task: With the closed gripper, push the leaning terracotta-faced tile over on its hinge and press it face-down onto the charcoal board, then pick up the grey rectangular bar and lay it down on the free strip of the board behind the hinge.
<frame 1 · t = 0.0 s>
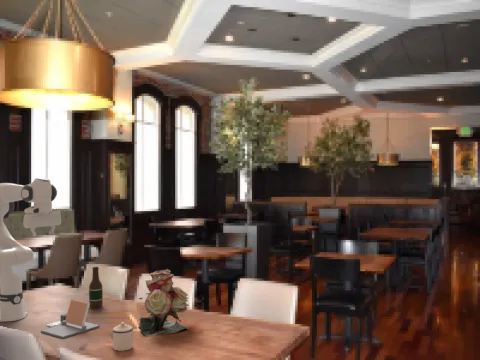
hand: (43, 235, 259), 48 cm above the table, fingers open, 8 cm apart
teacup with lid: (120, 347, 227), on the table
tile: (77, 312, 258), point 8 cm above the table, hinge at 70.0°
board: (70, 329, 255), on the table
rose bouquet: (164, 328, 257), on the table
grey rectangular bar: (62, 323, 267), on the table
beer bottle: (95, 307, 300), on the table
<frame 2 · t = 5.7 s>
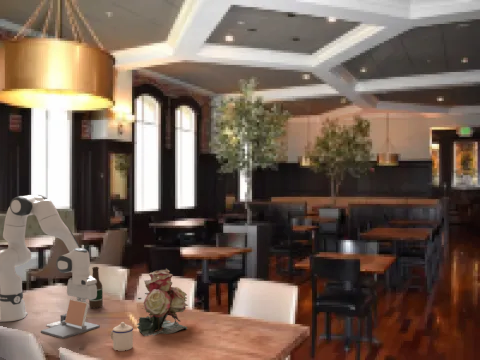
hand: (81, 305, 260), 11 cm above the table, fingers closed, pressing on tile
tile: (76, 312, 258), point 8 cm above the table, hinge at 73.5°, touching gripper
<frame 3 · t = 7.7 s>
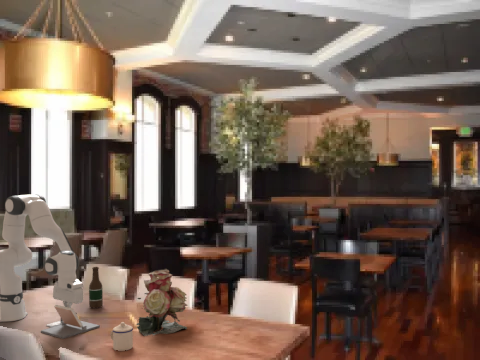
hand: (67, 309, 253), 11 cm above the table, fingers closed, pressing on tile
tile: (68, 316, 253), point 7 cm above the table, hinge at 120.6°, touching gripper
everything else where it was.
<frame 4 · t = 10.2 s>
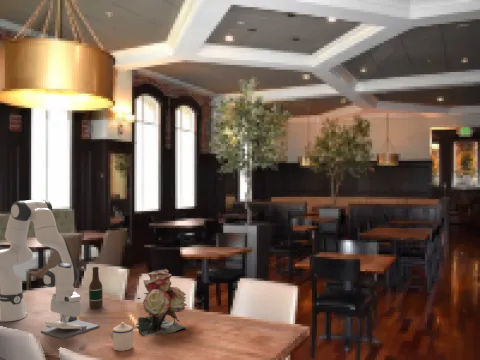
hand: (65, 322, 252), 4 cm above the table, fingers closed
tile: (63, 325, 251), point 3 cm above the table, hinge at 165.8°
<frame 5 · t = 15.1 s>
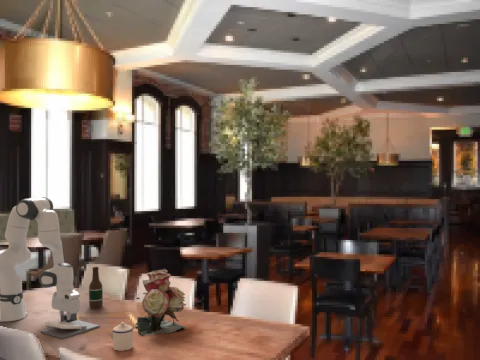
hand: (65, 319, 268), 2 cm above the table, fingers closed on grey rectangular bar, 3 cm apart
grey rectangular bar: (62, 323, 267), on the table, touching gripper
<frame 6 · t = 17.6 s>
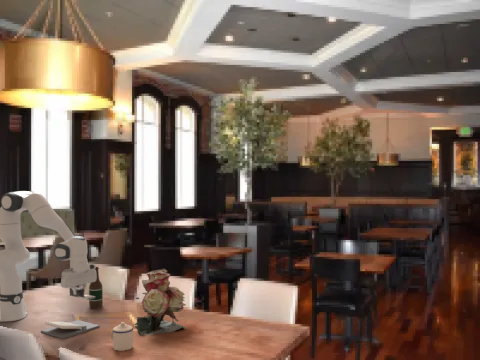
hand: (79, 293, 261), 17 cm above the table, fingers closed on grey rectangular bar, 3 cm apart
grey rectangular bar: (81, 296, 260), point 15 cm above the table, touching gripper
when the fingers open (4 cm above the table, at t = 20.3 s): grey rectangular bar stays where it is, resting on board.
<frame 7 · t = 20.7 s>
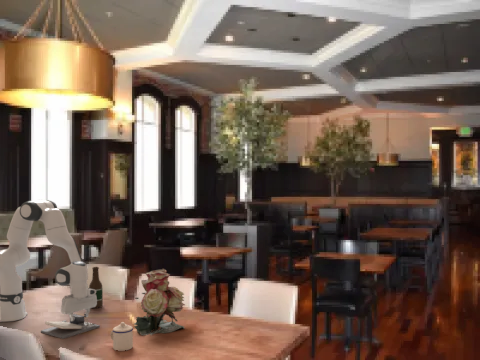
hand: (79, 318, 261), 4 cm above the table, fingers open, 7 cm apart
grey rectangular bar: (82, 324, 260), point 1 cm above the table, touching board
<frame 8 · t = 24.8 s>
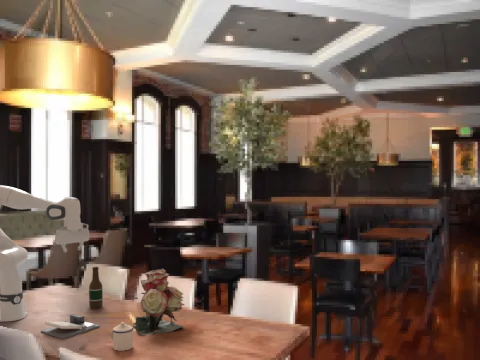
hand: (72, 251, 277), 37 cm above the table, fingers open, 8 cm apart
at the end: tile at +166° (first picture: +70°); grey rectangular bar inside the target area (0.1 cm from its centre), point 1.0 cm above the table; the gripper is holding nothing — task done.
